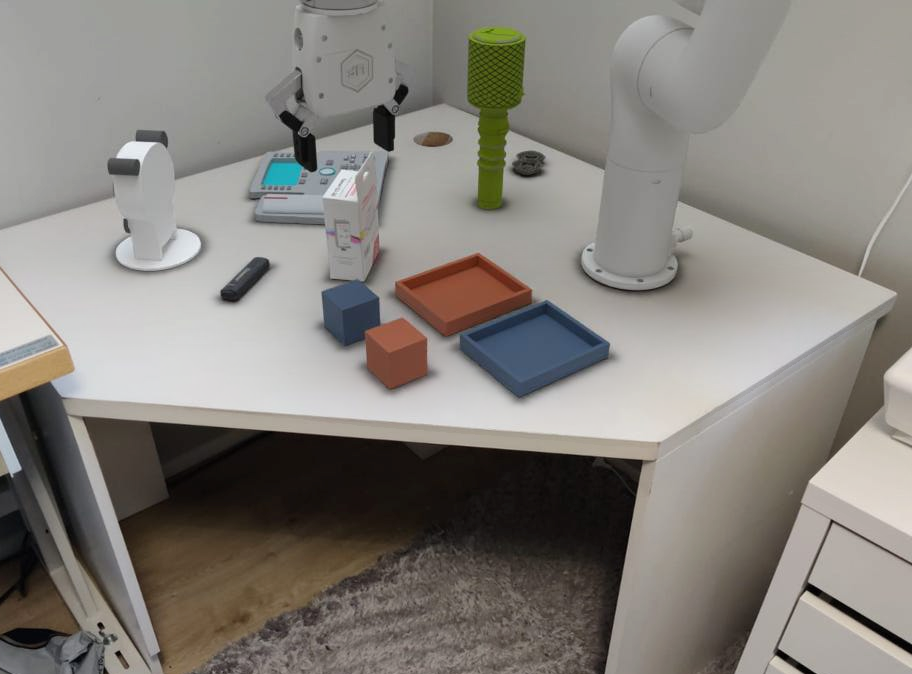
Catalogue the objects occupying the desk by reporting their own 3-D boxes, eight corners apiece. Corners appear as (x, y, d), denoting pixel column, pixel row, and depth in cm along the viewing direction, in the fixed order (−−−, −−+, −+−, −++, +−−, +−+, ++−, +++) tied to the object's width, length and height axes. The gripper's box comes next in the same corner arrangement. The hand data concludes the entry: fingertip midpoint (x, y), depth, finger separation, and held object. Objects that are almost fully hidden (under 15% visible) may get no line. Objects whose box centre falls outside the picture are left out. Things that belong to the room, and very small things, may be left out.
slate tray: (545, 313, 110) (547, 299, 109) (608, 357, 103) (610, 343, 101) (459, 348, 104) (459, 334, 103) (519, 397, 97) (520, 383, 96)
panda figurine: (136, 225, 128) (113, 124, 118) (212, 230, 127) (195, 128, 117) (102, 268, 118) (74, 162, 109) (185, 273, 117) (164, 166, 108)
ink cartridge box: (345, 247, 123) (338, 146, 114) (380, 251, 122) (376, 149, 113) (327, 279, 116) (318, 174, 107) (364, 283, 115) (358, 177, 106)
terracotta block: (403, 352, 103) (402, 316, 100) (427, 374, 100) (427, 337, 97) (366, 367, 101) (364, 331, 98) (390, 389, 98) (388, 353, 95)
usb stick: (255, 263, 119) (253, 253, 118) (272, 267, 119) (271, 257, 118) (218, 299, 112) (216, 289, 111) (237, 303, 112) (235, 292, 111)
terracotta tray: (478, 265, 119) (478, 252, 118) (531, 302, 112) (532, 289, 110) (395, 295, 113) (394, 281, 112) (445, 336, 106) (445, 322, 105)
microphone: (458, 211, 131) (461, 36, 116) (472, 189, 137) (477, 20, 121) (510, 219, 129) (521, 42, 114) (523, 196, 135) (535, 26, 119)
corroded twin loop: (547, 157, 146) (548, 151, 145) (540, 178, 140) (540, 172, 139) (517, 154, 147) (518, 148, 146) (508, 174, 141) (509, 168, 140)
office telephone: (375, 211, 126) (235, 208, 127) (376, 227, 128) (238, 224, 128) (388, 143, 144) (266, 140, 145) (388, 158, 146) (267, 156, 146)
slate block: (359, 313, 110) (357, 278, 107) (380, 332, 107) (379, 297, 103) (324, 326, 108) (320, 291, 104) (344, 346, 104) (342, 310, 101)
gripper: (277, 12, 80) (292, 189, 90) (434, -14, 88) (431, 151, 98) (240, -7, 84) (258, 163, 95) (391, -30, 92) (393, 129, 103)
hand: (346, 157), depth 96 cm, fingers open, 9 cm apart
